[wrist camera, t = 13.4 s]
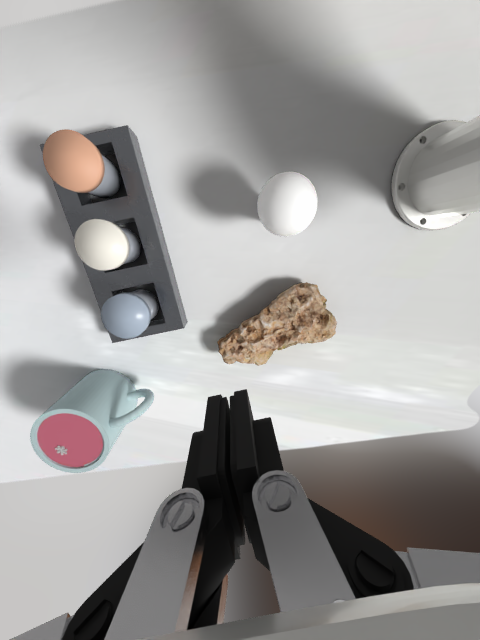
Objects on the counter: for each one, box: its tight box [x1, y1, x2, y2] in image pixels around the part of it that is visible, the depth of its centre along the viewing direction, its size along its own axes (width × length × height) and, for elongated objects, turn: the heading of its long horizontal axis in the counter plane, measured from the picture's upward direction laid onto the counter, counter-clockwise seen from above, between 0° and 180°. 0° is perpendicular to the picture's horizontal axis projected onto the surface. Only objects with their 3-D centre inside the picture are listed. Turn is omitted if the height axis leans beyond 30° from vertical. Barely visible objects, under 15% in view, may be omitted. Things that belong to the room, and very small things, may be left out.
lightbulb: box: [257, 171, 318, 236], centre depth 29 cm, size 6×6×11 cm
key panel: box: [40, 125, 187, 343], centre depth 33 cm, size 10×24×3 cm, turn 11°
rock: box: [217, 282, 337, 366], centre depth 37 cm, size 17×5×10 cm
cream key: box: [74, 219, 141, 270], centre depth 30 cm, size 5×5×6 cm
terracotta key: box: [43, 130, 121, 198], centre depth 28 cm, size 5×5×6 cm
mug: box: [30, 369, 154, 473], centre depth 35 cm, size 14×9×10 cm
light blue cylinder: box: [101, 289, 159, 339], centre depth 32 cm, size 5×5×6 cm
